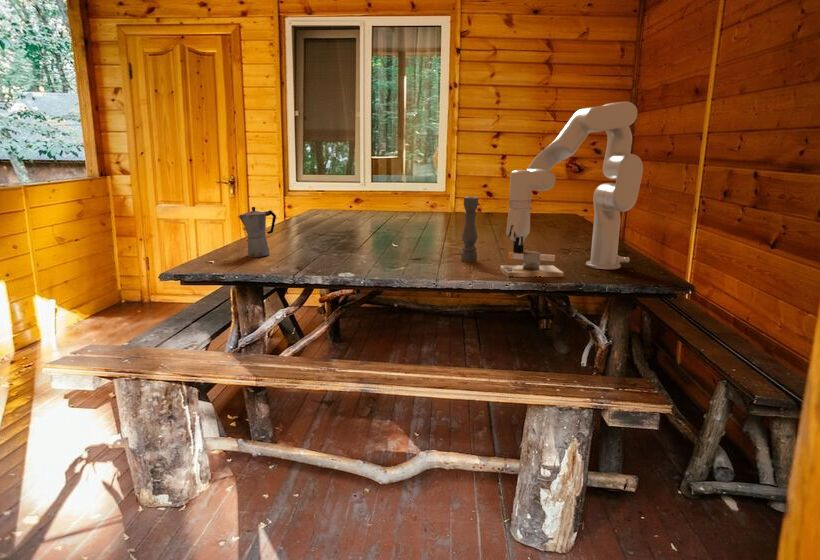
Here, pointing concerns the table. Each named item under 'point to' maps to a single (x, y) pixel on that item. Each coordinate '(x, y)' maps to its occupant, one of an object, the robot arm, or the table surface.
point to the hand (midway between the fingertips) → (518, 255)
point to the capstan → (531, 259)
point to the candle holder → (469, 230)
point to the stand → (531, 271)
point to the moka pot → (257, 231)
